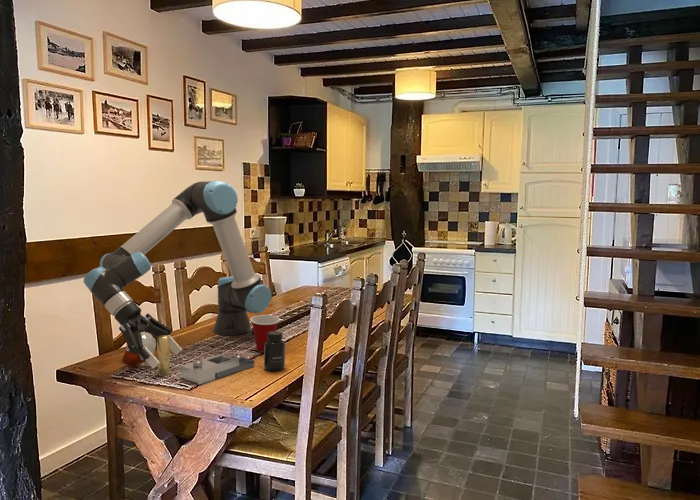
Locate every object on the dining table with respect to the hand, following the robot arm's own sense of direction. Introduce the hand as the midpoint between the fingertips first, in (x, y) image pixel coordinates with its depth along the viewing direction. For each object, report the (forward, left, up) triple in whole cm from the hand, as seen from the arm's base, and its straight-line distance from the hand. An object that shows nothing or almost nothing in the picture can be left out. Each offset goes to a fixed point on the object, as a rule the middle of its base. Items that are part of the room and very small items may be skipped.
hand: (168, 358), depth 160 cm
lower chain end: (-15, +10, -5) cm, 19 cm away
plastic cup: (-37, +4, -5) cm, 38 cm away
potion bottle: (-1, -18, -5) cm, 19 cm away
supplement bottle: (-25, +21, -5) cm, 34 cm away
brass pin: (+1, -2, -5) cm, 5 cm away
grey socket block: (-8, +10, -5) cm, 14 cm away
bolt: (-18, -34, -5) cm, 39 cm away
